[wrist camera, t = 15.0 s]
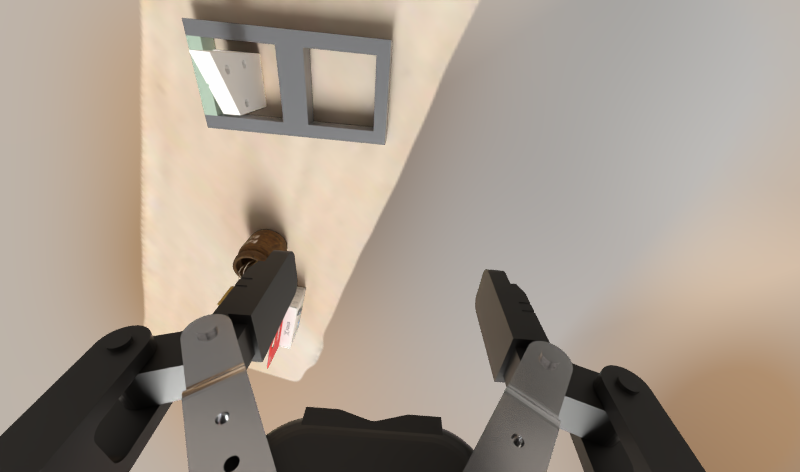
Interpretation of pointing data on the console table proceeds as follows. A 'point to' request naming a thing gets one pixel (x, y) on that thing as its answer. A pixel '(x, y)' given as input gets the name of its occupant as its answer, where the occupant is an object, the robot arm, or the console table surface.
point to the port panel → (293, 80)
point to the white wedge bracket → (233, 79)
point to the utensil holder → (256, 251)
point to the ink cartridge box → (288, 324)
